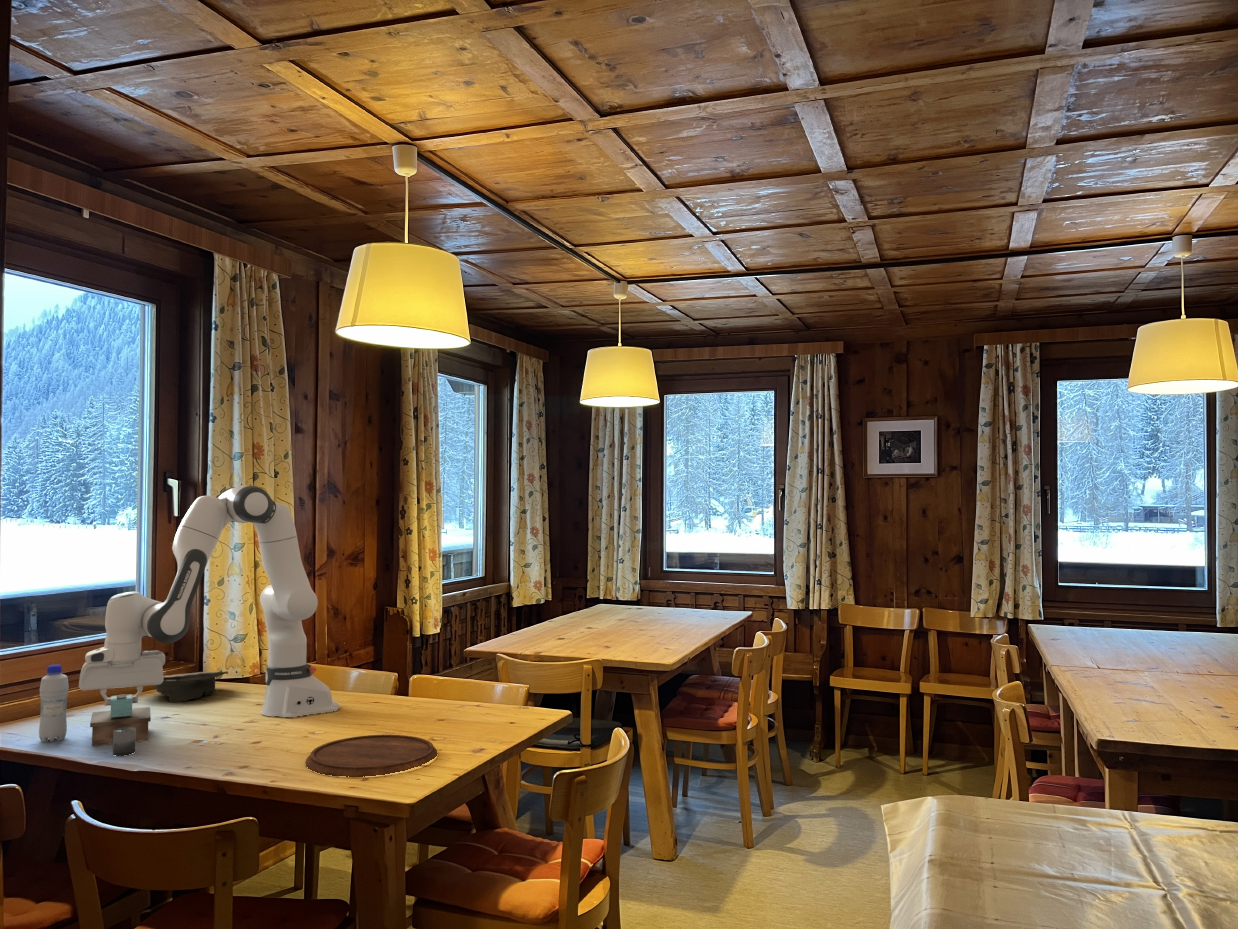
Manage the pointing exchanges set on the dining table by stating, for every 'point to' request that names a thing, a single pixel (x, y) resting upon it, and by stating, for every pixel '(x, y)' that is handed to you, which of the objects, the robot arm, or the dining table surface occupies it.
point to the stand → (119, 725)
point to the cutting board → (370, 755)
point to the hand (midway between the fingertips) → (121, 704)
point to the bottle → (53, 704)
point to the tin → (124, 741)
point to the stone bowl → (188, 685)
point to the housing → (121, 705)
